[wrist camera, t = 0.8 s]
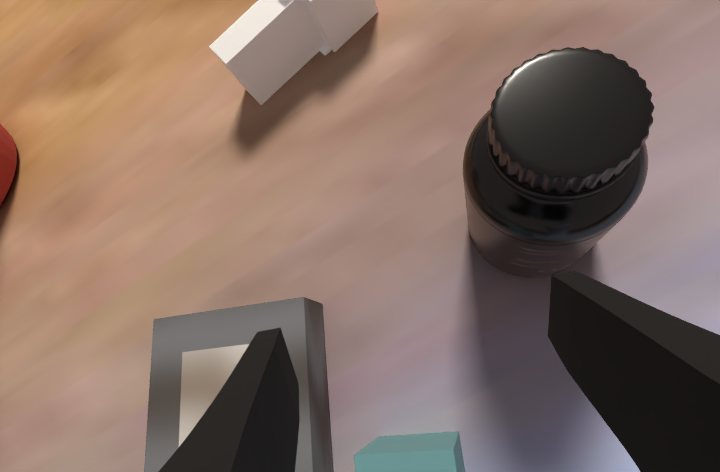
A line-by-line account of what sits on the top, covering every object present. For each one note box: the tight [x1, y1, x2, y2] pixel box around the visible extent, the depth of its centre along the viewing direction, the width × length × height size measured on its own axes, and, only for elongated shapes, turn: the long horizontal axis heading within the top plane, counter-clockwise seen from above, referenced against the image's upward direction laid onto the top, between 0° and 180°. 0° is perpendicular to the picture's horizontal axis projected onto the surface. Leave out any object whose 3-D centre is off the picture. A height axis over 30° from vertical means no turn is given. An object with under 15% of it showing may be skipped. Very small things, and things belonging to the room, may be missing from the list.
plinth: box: [144, 297, 333, 472], centre depth 24 cm, size 10×10×3 cm
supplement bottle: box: [463, 47, 654, 277], centre depth 19 cm, size 7×7×12 cm
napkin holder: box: [209, 0, 378, 105], centre depth 30 cm, size 15×11×6 cm
